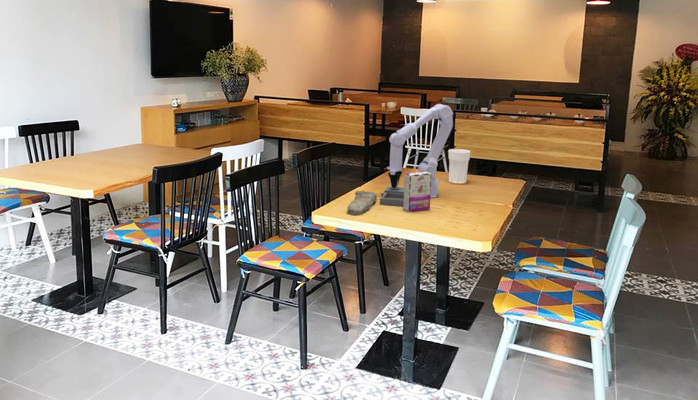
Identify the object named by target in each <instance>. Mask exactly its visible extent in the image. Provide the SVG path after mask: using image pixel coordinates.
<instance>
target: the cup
mask: <svg viewBox="0 0 698 400" xmlns="http://www.w3.org/2000/svg"><path fill="white" fill-rule="evenodd" d="M447 158H448V161H449V165H448V183H449V184H450V185H460V186H461V185H466V184H467V179H468V178H467V175H468V168H469V161H470V159H471V150H468V149H464V148H463V149H462V148H451V149H449V150H448V157H447Z"/></svg>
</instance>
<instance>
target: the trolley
mask: <svg viewBox="0 0 698 400" xmlns="http://www.w3.org/2000/svg"><path fill="white" fill-rule="evenodd" d="M391 189H392V186H386V188H384V193H381V194H380V198H381V197H382V196H383V195H384V194H385V193H386V192H387V193H399V194H404V187H399V186H398V190H391Z"/></svg>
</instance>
